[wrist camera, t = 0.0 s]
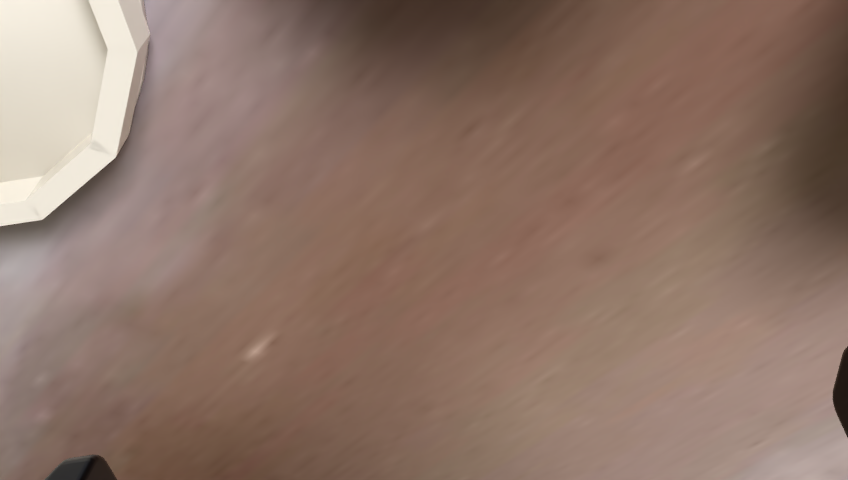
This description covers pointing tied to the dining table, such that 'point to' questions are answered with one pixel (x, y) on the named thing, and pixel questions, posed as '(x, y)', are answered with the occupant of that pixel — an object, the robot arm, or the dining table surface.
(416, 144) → the dining table surface
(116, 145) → the round white tray
